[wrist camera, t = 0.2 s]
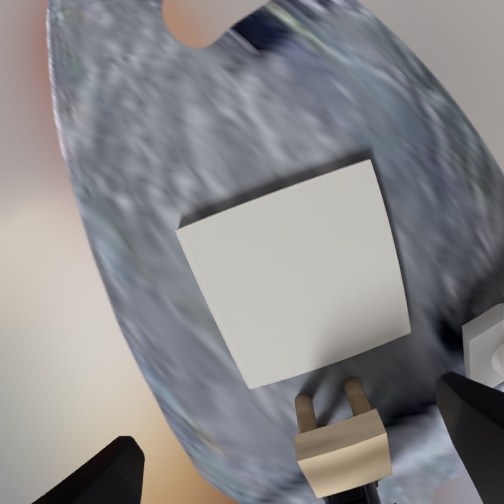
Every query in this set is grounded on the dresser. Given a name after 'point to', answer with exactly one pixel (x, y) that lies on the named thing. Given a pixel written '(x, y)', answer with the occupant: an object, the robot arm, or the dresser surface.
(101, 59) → the dresser surface
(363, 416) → the tan pegged block
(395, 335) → the mat
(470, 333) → the figurine
